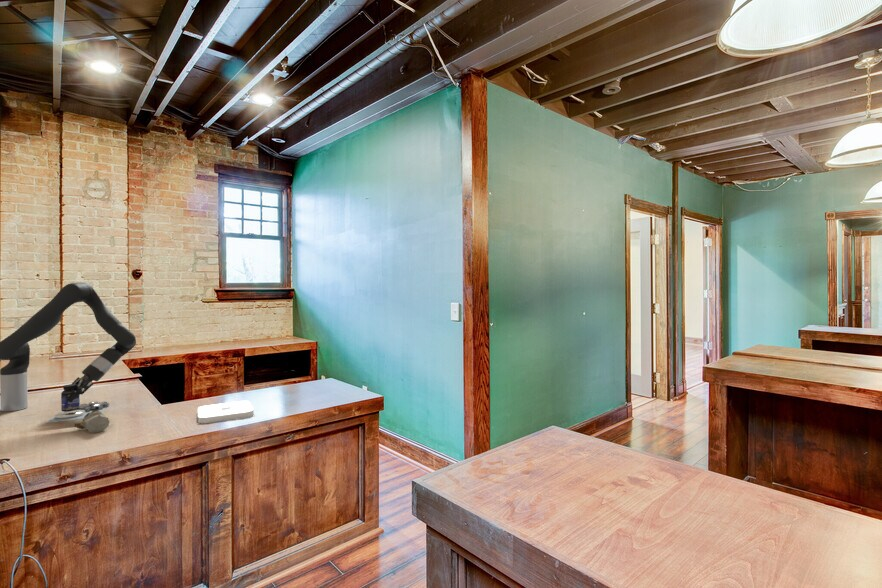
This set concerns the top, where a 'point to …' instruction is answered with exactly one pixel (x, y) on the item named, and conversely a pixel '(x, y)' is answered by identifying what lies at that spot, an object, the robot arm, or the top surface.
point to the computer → (225, 411)
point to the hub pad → (70, 414)
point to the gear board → (74, 417)
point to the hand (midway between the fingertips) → (65, 399)
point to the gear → (93, 406)
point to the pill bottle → (65, 394)
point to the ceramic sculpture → (94, 422)
